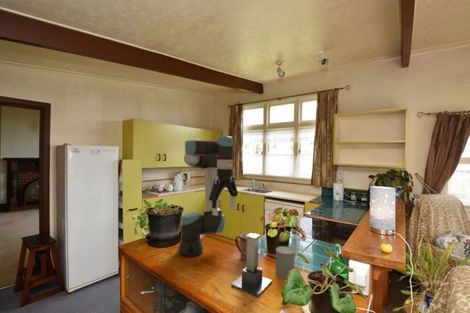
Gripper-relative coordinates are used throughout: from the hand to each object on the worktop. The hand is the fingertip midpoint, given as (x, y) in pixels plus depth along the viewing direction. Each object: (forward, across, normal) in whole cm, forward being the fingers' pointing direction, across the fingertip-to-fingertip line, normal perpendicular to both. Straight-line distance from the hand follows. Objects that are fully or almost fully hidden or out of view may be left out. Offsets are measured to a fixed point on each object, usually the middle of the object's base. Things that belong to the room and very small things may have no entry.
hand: (224, 212), depth 113 cm
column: (+25, +4, -14) cm, 29 cm away
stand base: (+33, +4, -14) cm, 36 cm away
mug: (+33, +25, +3) cm, 41 cm away
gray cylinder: (+33, +22, -23) cm, 46 cm away
